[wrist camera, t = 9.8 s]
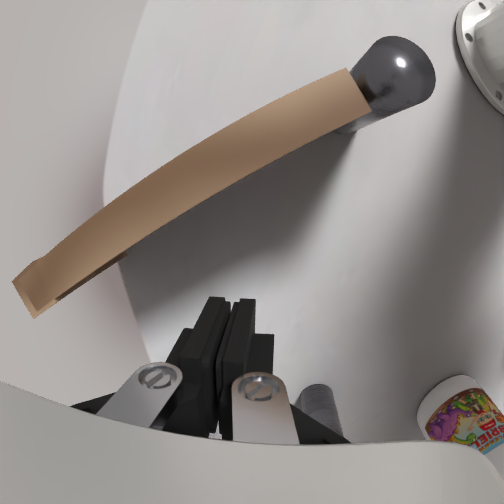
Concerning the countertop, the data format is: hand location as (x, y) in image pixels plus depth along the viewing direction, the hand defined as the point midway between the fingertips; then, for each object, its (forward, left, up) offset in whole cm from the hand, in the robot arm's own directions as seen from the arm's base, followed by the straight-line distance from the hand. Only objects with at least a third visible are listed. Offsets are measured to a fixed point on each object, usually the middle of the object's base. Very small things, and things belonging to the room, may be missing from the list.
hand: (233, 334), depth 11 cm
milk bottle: (-21, +16, -12) cm, 29 cm away
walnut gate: (+4, -4, -11) cm, 12 cm away
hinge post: (-6, -10, -12) cm, 17 cm away
